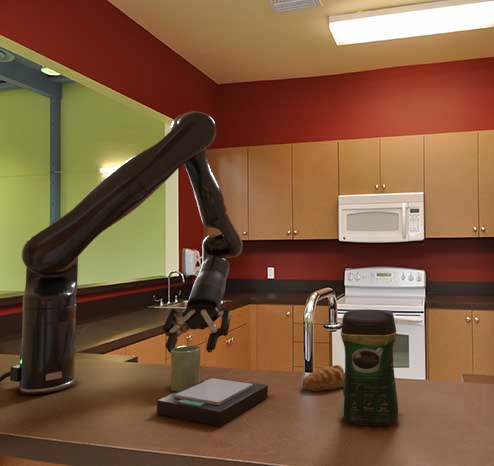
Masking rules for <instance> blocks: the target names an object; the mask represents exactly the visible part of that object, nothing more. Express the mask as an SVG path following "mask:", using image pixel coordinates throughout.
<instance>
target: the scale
mask: <svg viewBox="0 0 494 466" xmlns="http://www.w3.org/2000/svg"><path fill="white" fill-rule="evenodd" d="M268 388H269V386H268V384H263V383H257V382H256V383H255V382H248V381H242V380H235V379H227V378H220V377H213V376H211V377H208V378H206V379H204V380H200V382H199V383H196V384H194V385H192V386H190V387H187V388H185V389H183V390H180V391H175V392H174V393H171V394H169V395H167V396H164V397H161V398H160V399H158V400H156V414H157V415H159V416H160V415H161V416H166V417H172V418H176V419H181V420H186V421H191V422H197V423H201V424H207V425H212V426H217V427H221V426H223V425H224V424H226V423H228V422H230V421H231V420H233V419H234V418H237V417H238V416H240V415H241V414H242V413H244V412H246V411H248V410H250V408H253V407H254V406H255V405H257V404H259V403H260V402H262V401H264V400H266V399H267V398H268V395H269V393H268V390H269V389H268Z"/></svg>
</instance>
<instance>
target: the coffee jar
mask: <svg viewBox="0 0 494 466" xmlns="http://www.w3.org/2000/svg"><path fill="white" fill-rule="evenodd" d="M340 338H341V340H342V343H343V347H344V348H343V349H344V373H345V375H344V386H343V387H342V388H343V389H342V401H341V402H342V404H341V415H342V418H343V420H344V421H346V422H347V423H348V424H352V425H362V426H389V425H391V424H393V423H395V422H396V421H397V418H398V415H399V401H398V393H397V385H396V377H395V368H394V344H395V342H396V338H397V326H396V321H395V316H394V312H393V311H392V310H389V309H388V310H386V309H372V308H371V309H369V308H366V309H365V308H364V309H361V308H360V309H349V310H346V312H345V313H344V314H343V316H342V321H341V329H340Z"/></svg>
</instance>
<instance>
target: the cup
mask: <svg viewBox="0 0 494 466" xmlns="http://www.w3.org/2000/svg"><path fill="white" fill-rule="evenodd" d="M199 382H201V346H199V345H181V346H175V348H173V349H171V353H170V390H171V391H174V392H178V391H180V390H183V389H185V388H187V387H190V386H192V385H194V384H196V383H199Z"/></svg>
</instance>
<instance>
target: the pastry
mask: <svg viewBox="0 0 494 466" xmlns="http://www.w3.org/2000/svg"><path fill="white" fill-rule="evenodd" d="M344 375H345V369H344V368H343V367H342V365H339V364H334V365H333V364H332V365H331V366H323V367H319V368H318V369H316V370H315V371H314V372H311V373H309V374H308V375H307V376H305V377H303V379H302V382H301V387H302V388H304V389H306V390H310V391H312V392H320V391H327V390H328V391H329V390H334V389H337V388H338V389H339V388H344Z"/></svg>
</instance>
